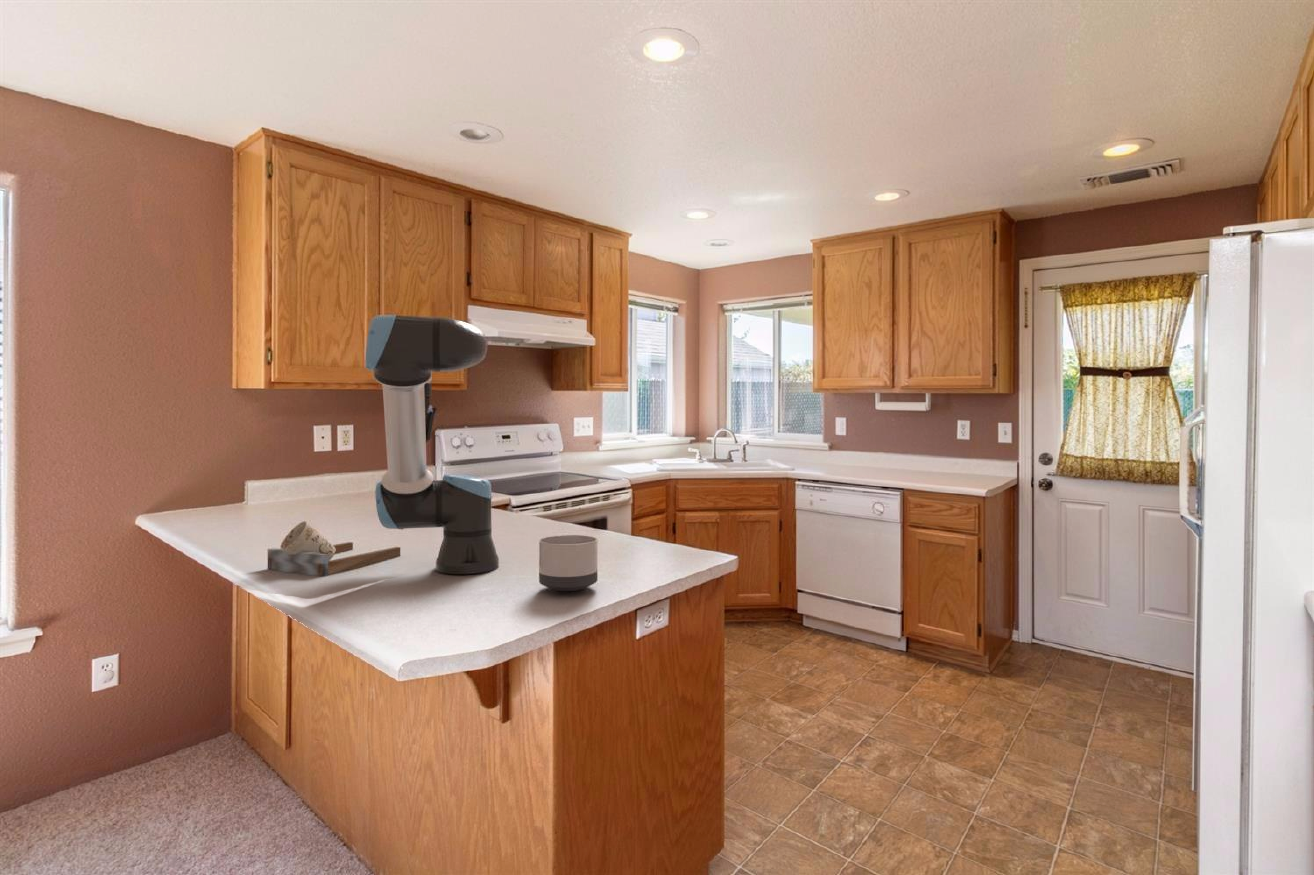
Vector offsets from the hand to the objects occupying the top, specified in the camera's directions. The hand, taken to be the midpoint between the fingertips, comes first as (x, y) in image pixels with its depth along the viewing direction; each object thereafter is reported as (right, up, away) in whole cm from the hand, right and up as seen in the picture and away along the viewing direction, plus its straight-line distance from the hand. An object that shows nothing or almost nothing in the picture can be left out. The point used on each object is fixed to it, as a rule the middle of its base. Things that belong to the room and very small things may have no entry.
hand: (417, 465), depth 187 cm
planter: (+48, -25, -41) cm, 68 cm away
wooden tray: (-15, -25, -17) cm, 33 cm away
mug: (-16, -23, -21) cm, 35 cm away
